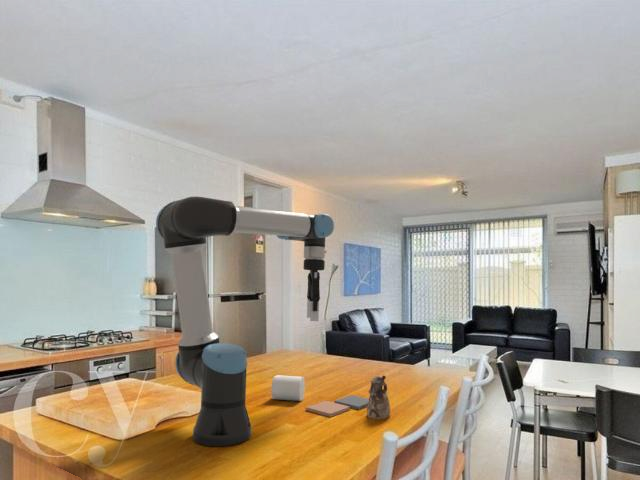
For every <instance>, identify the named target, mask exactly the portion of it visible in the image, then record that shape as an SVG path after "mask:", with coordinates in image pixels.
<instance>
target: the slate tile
mask: <svg viewBox="0 0 640 480" xmlns="http://www.w3.org/2000/svg"><path fill="white" fill-rule="evenodd" d="M333 403H337V404H341V405H345V406H349V407H350V409H354V410H358V411H360V410H361V409H362V410H363V409H364V408H367V407H368V403H369V398H368V397H362V396H359V395H354V394H351V395H347V396H344V397H342V398H339V399H335V400H334V401H333Z"/></svg>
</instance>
